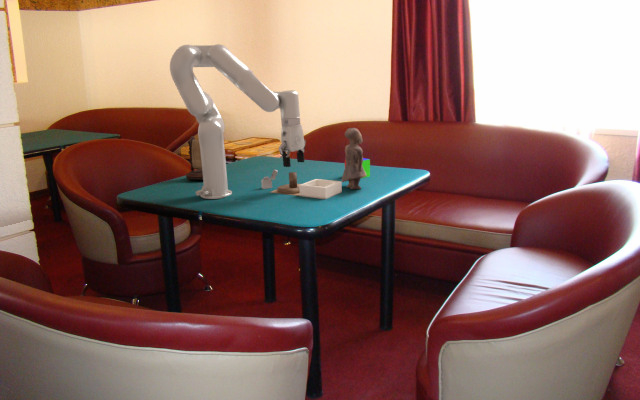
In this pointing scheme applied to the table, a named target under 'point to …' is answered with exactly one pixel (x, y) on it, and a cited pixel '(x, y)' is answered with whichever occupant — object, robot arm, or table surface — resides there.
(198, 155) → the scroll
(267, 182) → the lighter
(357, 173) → the clay figurine
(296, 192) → the lid
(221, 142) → the robot arm
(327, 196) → the dish
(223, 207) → the table surface
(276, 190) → the mat
